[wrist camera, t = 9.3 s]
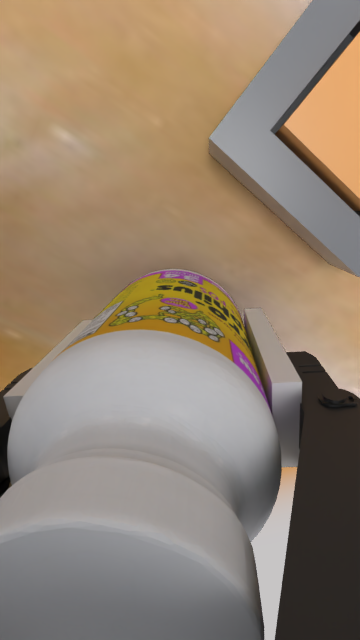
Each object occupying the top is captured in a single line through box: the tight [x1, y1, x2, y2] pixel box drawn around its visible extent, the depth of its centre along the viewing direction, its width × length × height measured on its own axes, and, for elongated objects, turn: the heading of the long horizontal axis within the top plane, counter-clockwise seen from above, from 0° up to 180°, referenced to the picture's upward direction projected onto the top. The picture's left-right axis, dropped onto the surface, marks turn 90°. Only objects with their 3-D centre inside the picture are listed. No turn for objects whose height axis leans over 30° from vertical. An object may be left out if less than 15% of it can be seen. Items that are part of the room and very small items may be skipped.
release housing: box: [209, 0, 360, 277], centre depth 17 cm, size 10×10×4 cm
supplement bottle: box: [0, 269, 281, 640], centre depth 11 cm, size 7×7×13 cm
